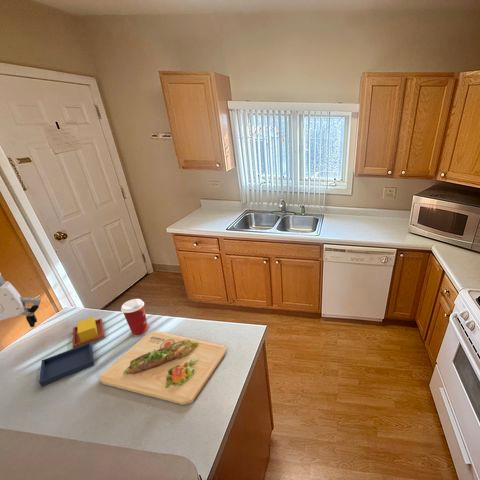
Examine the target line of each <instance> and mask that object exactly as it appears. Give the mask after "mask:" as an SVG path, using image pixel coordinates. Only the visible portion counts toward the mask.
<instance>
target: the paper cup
mask: <svg viewBox="0 0 480 480" xmlns="http://www.w3.org/2000/svg"><path fill="white" fill-rule="evenodd" d="M120 311H121V312H122V313H123V316H124V318H125V320H126V323H127V325H128V327H129V329H130V332H131V334H132V335H133V336H141V335H143V334H145V333H146V332H147V331H148V330H149V325H148V319H147V315H146V310H145V302H144V301H143V300H142V298H141V299H140V298H132V299H129V300H127V301H125V302H123V304H122V305H121V308H120Z"/></svg>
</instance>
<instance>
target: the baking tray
mask: <svg viewBox="0 0 480 480" xmlns="http://www.w3.org/2000/svg"><path fill="white" fill-rule="evenodd" d="M94 366H95V359H94V348H93V343H91V342H90V343H87V344H85V345H82V346H79V347H76V348H74V347H73V348H71V349H68V350H66V351H63V352H61V353H58V354H55V355H52V356H50V357H47V358H44V359H42V360H41V363H40V373H39V380H38V384H39V385H40V387H41V388H43V387H45V386H48V385H50V384H53V383H55V382H58V381H60V380H62V379H64V378H65V379H66V378H68V377H69V376H72V375H74V374H77V373H79V372H81V371H84V370H87V369H89V368H92V367H94Z"/></svg>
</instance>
